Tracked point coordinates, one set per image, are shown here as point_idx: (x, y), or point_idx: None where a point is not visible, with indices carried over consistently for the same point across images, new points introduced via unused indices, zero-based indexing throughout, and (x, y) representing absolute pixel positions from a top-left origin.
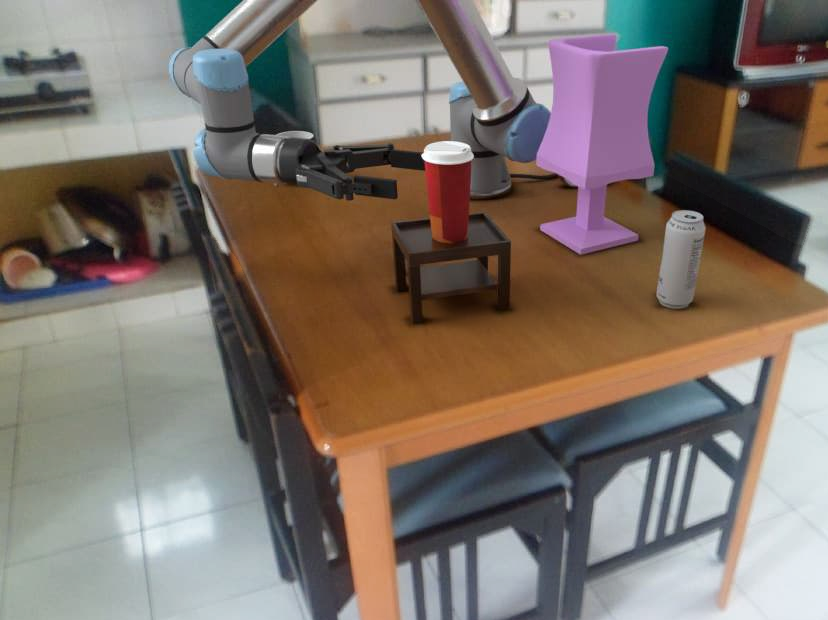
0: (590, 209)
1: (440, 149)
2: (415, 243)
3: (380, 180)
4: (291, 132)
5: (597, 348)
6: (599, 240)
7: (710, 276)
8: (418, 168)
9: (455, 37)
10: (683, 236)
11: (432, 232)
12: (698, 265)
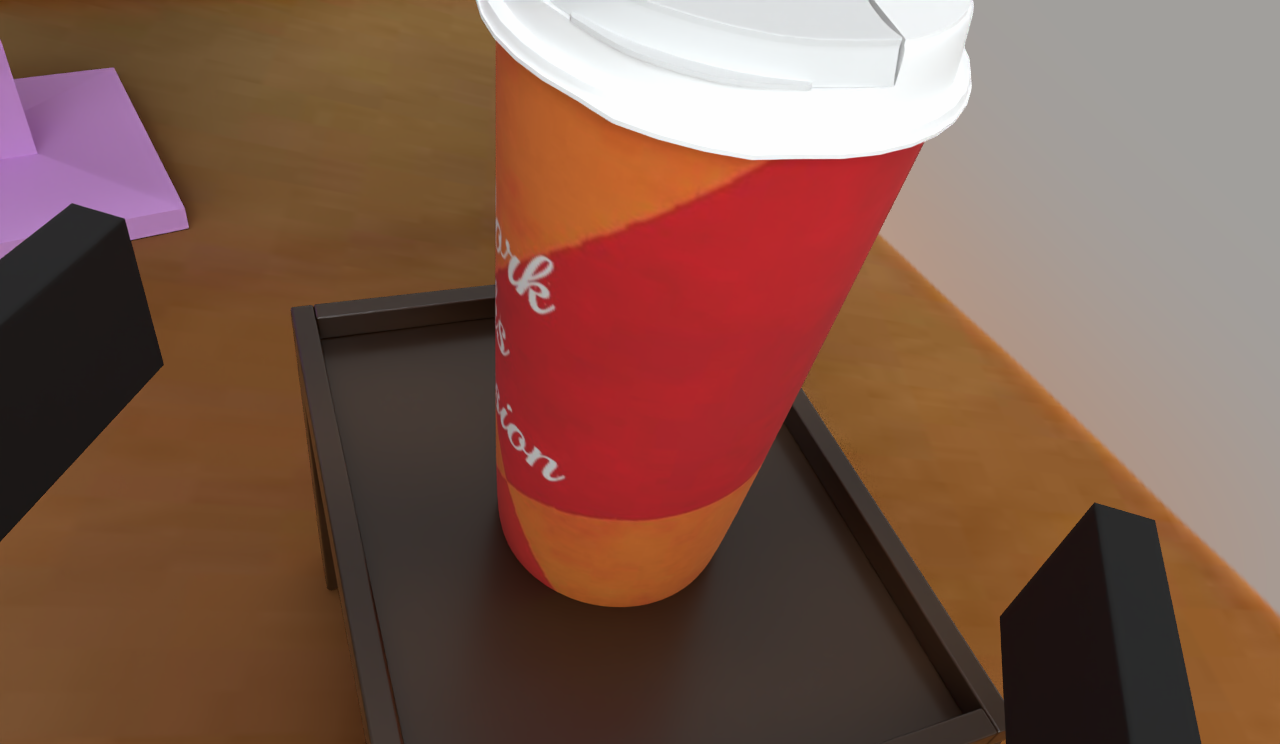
0: (8, 67)
1: None
2: (753, 714)
3: (1187, 684)
4: None
5: (862, 305)
6: (130, 151)
7: (425, 39)
8: (80, 434)
9: None
10: None
11: (669, 580)
12: None
